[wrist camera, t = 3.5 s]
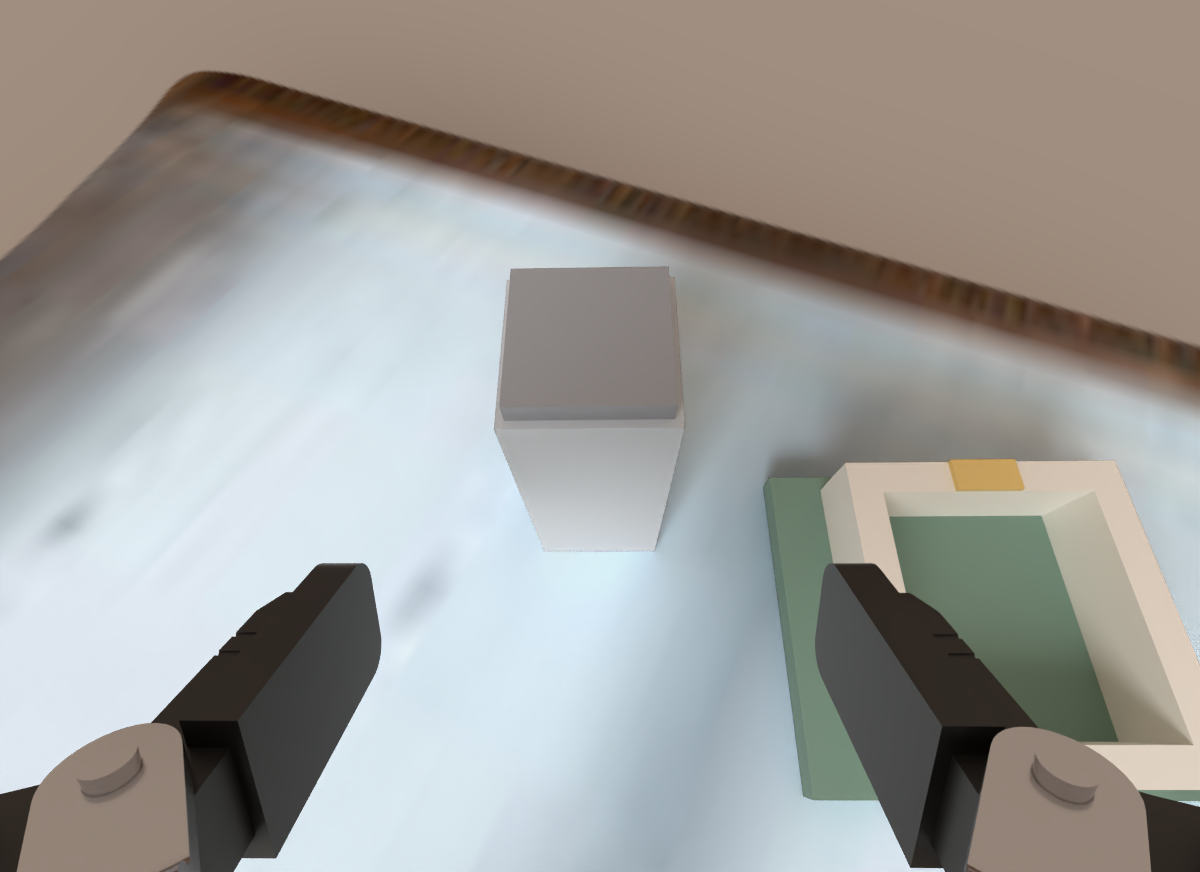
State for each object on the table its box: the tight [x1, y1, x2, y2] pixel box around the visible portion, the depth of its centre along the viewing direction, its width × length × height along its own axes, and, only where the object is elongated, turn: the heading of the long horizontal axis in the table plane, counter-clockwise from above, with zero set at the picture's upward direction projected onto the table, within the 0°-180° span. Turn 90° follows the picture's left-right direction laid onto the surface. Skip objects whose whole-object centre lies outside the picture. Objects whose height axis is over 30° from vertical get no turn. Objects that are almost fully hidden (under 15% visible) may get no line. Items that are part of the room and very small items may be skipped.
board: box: [763, 459, 1200, 801], centre depth 18 cm, size 12×10×4 cm
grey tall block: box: [494, 267, 685, 552], centre depth 18 cm, size 4×5×11 cm
